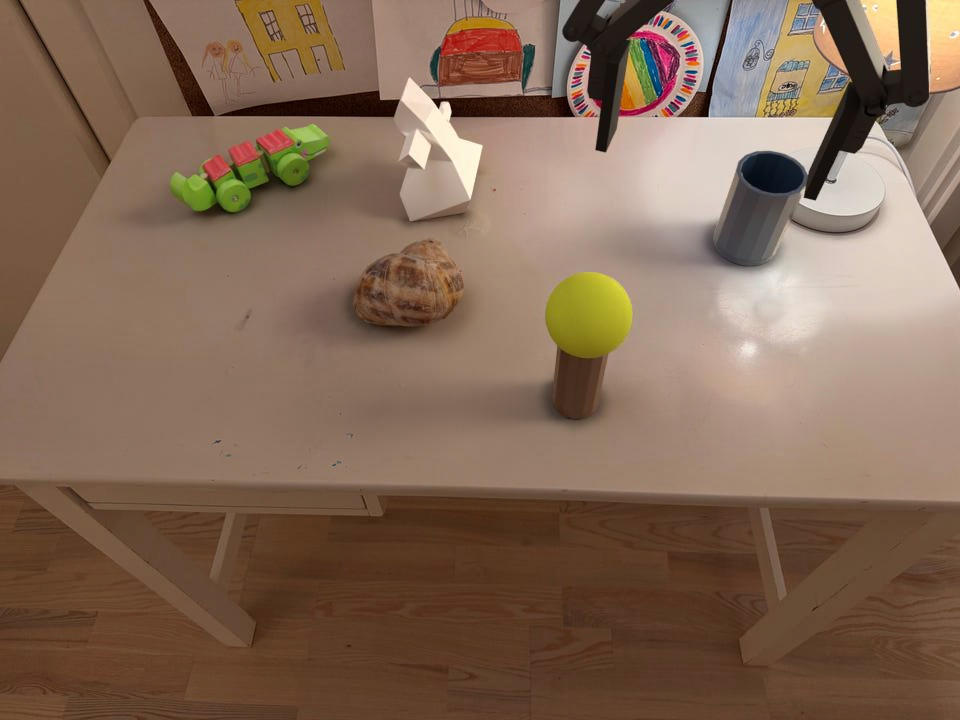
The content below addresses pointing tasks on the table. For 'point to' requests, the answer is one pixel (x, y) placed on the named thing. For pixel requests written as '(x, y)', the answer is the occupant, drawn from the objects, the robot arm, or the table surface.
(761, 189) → the cup
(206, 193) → the toy crocodile
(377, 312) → the seashell
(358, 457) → the table surface
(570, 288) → the ball
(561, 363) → the stand
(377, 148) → the table surface
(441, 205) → the white angular sculpture
